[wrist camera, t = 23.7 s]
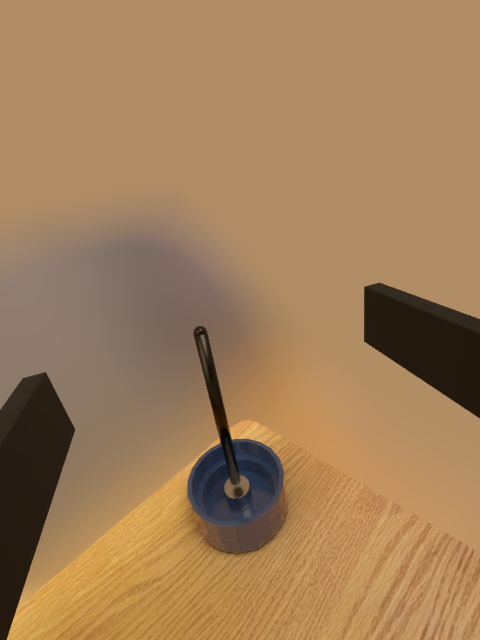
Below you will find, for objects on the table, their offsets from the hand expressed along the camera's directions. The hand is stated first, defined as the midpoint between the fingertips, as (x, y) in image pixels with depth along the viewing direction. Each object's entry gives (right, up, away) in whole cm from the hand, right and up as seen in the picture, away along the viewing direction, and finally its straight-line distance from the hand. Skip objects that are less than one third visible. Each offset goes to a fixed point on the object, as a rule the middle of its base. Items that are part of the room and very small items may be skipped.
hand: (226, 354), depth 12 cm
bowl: (+1, -21, +24) cm, 31 cm away
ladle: (+1, -20, +24) cm, 31 cm away
